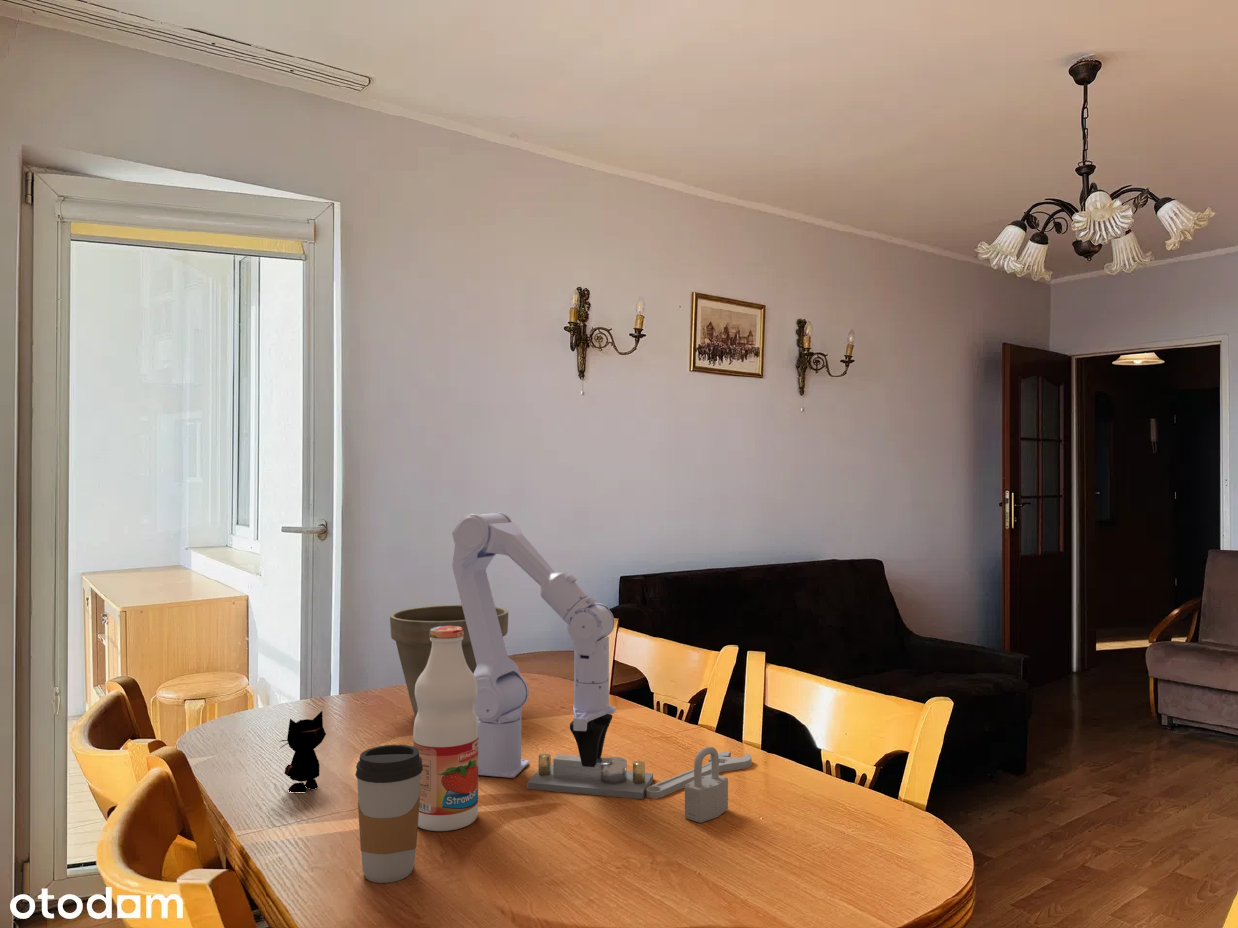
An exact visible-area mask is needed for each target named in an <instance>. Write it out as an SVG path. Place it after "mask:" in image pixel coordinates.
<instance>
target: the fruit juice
mask: <svg viewBox="0 0 1238 928" xmlns="http://www.w3.org/2000/svg"><path fill="white" fill-rule="evenodd" d="M463 635H464V631H463V628H462V627H458V626H439V627H434V628H431V629H430V640H431V641H432V648H431V653H430V656H429V659H428V662H427V665H426V667H425V669H424V671H423V672H422V673H421V675H420V676H419V677H418V679H417V681H416V684H415V699H416V702H417V706H418V712H417V715H416V716H415V717H414V723H413V729H412V731H413V732H412V737H413V739H412V741H413V742H412V743H413V744H412V745H413V747H415V748H417V749H418V750H419V756H420V757H421V758H422V766H423V771H422V772H421V780H420V794H419V796H420V804H419V817H418V828H420V829H423V830H425V831H430V832H431V831H432V832H450V831H455V830H459V829H462V828H466V827H467V826H470V825H472V824H473V823H474V822H475V821H476V819H477V816H478V814H479V775H478V737H479V729H478V718H477V714H476V712H475V709H474V704H475V701H476V697H477V692H478V686H477V680H476V678H475V676H474V674H473V673H472V671H471V670H470V669H469V667H468V665H467V663H466V660H465V657H464V654H463V650H462V645H461V641H462V640H463Z"/></svg>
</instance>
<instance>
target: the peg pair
mask: <svg viewBox="0 0 1238 928" xmlns="http://www.w3.org/2000/svg"><path fill="white" fill-rule="evenodd" d="M551 758H552V756H551V754H550V753H540V754H539V755H538V770H539V775H541V776H548V775H550V774H551V765H552V764H551V762H552V760H551ZM632 772H633V783H635V784H643V783H645V773H646V763H645V762H644V761H641V760H637V761H633V762H632Z"/></svg>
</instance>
